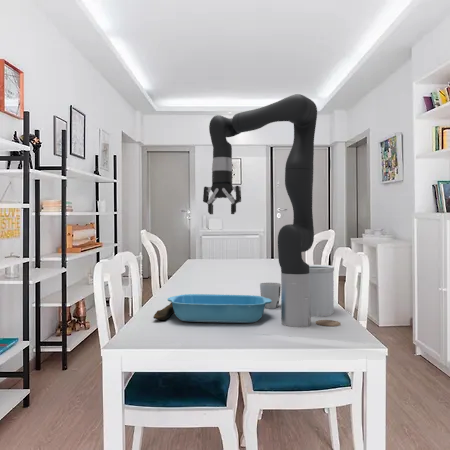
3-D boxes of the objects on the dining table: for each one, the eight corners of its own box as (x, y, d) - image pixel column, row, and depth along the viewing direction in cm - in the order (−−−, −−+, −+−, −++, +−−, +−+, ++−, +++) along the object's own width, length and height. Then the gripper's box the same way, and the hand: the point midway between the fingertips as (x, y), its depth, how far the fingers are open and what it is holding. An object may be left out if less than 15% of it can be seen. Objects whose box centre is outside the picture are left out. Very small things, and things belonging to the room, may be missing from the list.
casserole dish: (269, 312, 160) (269, 293, 160) (273, 325, 137) (273, 303, 137) (173, 311, 162) (173, 292, 162) (161, 324, 139) (161, 302, 139)
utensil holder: (302, 318, 147) (302, 268, 147) (287, 310, 162) (287, 264, 162) (341, 316, 150) (341, 267, 150) (323, 309, 165) (323, 264, 165)
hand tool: (171, 300, 162) (182, 300, 161) (171, 310, 162) (183, 310, 161) (151, 309, 144) (164, 309, 143) (151, 321, 144) (164, 321, 143)
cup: (282, 311, 160) (282, 285, 160) (260, 311, 160) (260, 285, 160) (279, 307, 168) (279, 282, 168) (259, 307, 168) (259, 282, 168)
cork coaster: (341, 322, 141) (341, 320, 141) (339, 327, 133) (339, 325, 133) (317, 320, 144) (317, 319, 144) (313, 325, 136) (313, 324, 136)
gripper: (243, 171, 158) (243, 214, 158) (208, 172, 162) (207, 214, 162) (237, 168, 151) (237, 213, 150) (200, 170, 155) (200, 214, 155)
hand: (221, 214), depth 156 cm, fingers open, 8 cm apart
